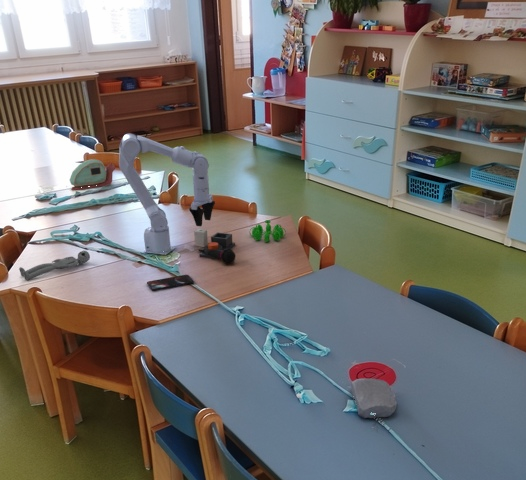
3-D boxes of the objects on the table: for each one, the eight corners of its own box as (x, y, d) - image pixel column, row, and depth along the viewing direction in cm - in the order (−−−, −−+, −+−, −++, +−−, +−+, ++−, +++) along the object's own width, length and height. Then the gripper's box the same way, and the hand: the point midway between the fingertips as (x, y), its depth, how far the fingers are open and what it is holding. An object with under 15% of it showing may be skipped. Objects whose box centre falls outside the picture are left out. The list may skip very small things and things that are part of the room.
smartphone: (194, 281, 198) (151, 289, 192) (194, 283, 198) (152, 291, 193) (187, 274, 203) (146, 281, 198) (187, 275, 204) (146, 283, 198)
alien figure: (16, 264, 203) (84, 246, 215) (20, 277, 206) (86, 258, 218) (23, 271, 198) (92, 252, 210) (27, 284, 200) (95, 265, 212)
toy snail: (73, 191, 299) (68, 164, 292) (69, 188, 305) (64, 161, 298) (119, 184, 311) (116, 158, 304) (114, 181, 316) (111, 155, 309)
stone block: (384, 394, 144) (346, 389, 142) (390, 378, 141) (351, 374, 139) (397, 425, 134) (356, 420, 132) (404, 409, 131) (362, 404, 129)
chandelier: (266, 246, 228) (266, 229, 225) (242, 237, 238) (241, 220, 234) (293, 237, 237) (293, 221, 233) (269, 228, 246) (269, 213, 243)
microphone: (196, 260, 224) (230, 268, 210) (191, 247, 220) (224, 254, 207) (206, 252, 226) (240, 259, 213) (200, 240, 223) (235, 246, 209)
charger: (195, 245, 230) (194, 231, 226) (198, 243, 232) (197, 228, 229) (204, 247, 228) (203, 232, 225) (207, 244, 231) (207, 229, 228)
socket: (211, 249, 226) (210, 237, 224) (217, 244, 231) (217, 232, 228) (226, 251, 224) (226, 239, 222) (232, 246, 229) (232, 234, 226)
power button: (206, 249, 219) (206, 245, 218) (210, 245, 222) (210, 241, 221) (215, 250, 218) (215, 246, 217) (220, 247, 221) (220, 242, 220)
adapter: (199, 257, 219) (199, 249, 218) (217, 243, 232) (216, 236, 230) (218, 259, 217) (218, 252, 215) (235, 245, 230) (235, 238, 228)
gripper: (202, 193, 209) (204, 229, 216) (219, 183, 221) (220, 218, 228) (185, 192, 211) (187, 227, 218) (202, 182, 223) (204, 216, 230)
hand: (203, 222), depth 223 cm, fingers open, 7 cm apart
